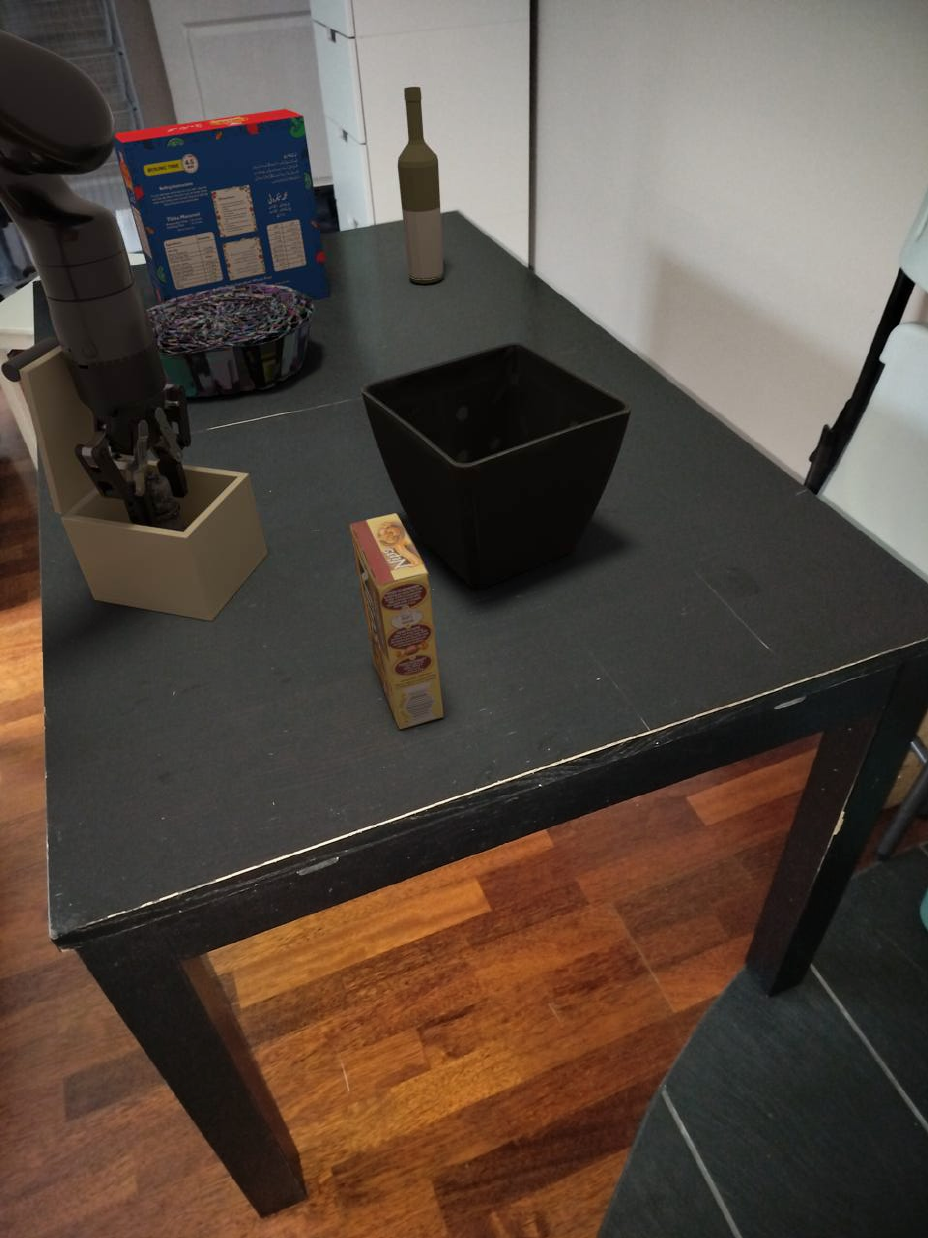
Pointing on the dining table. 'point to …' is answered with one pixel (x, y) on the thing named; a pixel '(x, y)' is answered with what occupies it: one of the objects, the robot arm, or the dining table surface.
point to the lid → (55, 419)
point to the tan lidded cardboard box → (172, 546)
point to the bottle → (420, 197)
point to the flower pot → (497, 456)
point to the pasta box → (225, 204)
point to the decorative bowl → (232, 338)
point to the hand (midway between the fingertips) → (162, 509)
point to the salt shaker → (163, 502)
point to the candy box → (399, 618)
